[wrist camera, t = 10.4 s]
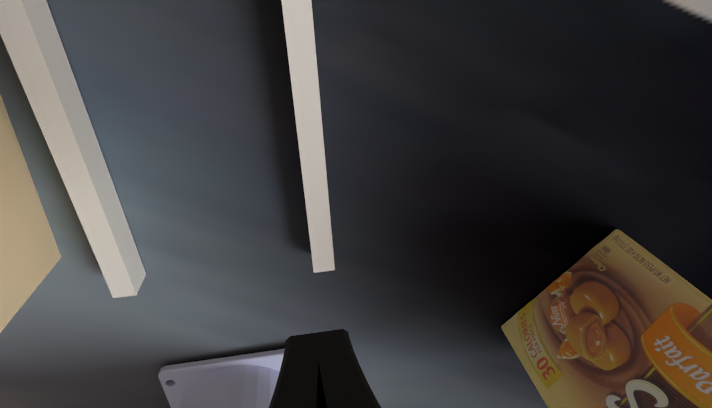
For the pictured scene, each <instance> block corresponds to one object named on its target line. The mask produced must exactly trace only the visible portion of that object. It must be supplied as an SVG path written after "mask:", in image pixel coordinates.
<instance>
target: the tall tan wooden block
mask: <svg viewBox="0 0 712 408" xmlns="http://www.w3.org/2000/svg"><path fill="white" fill-rule="evenodd" d="M60 258H61V256H60V253H59V250H58V248H57V245H56V242H55V239H54V237H53V234H52V231H51V229H50V226H49V223H48V221H47V218H46V215H45V213H44V210H43V207H42V205H41V202H40V199H39V196H38V194H37V191H36V188H35V186H34V183H33V180H32V178H31V175H30V172H29V170H28V167H27V164H26V162H25V159H24V156H23V153H22V151H21V148H20V145H19V143H18V140H17V137H16V135H15V132H14V129H13V127H12V124H11V121H10V119H9V116H8V113H7V110H6V108H5V105H4V102H3V100H2V97H1V94H0V333H1V332H2V330H3V329H4V328H5V327H6V325H7V324H8V323H9V322H10V320H11V319H12V318H13V317H14V315H15V314H16V313H17V312H18V310H19V309H20V308H21V307H22V305H23V304H24V303H25V302H26V300H27V299H28V298H29V297H30V295H31V294H32V293H33V292H34V290H35V289H36V288H37V287H38V285H39V284H40V283H41V282H42V281H43V279H44V278H45V277H46V276H47V274H48V273H49V272H50V271H51V269H52V268H53V267H54V266H55V264H56V263H57V262H58V261H59V259H60Z"/></svg>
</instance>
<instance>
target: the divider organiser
mask: <svg viewBox="0 0 712 408" xmlns="http://www.w3.org/2000/svg"><path fill="white" fill-rule="evenodd" d="M281 1H282V10H283V18H284V27H285V35H286V44H287V52H288V60H289V69H290V77H291V86H292V94H293V102H294V111H295V119H296V128H297V136H298V145H299V153H300V161H301V170H302V178H303V187H304V195H305V203H306V212H307V220H308V229H309V237H310V246H311V254H312V262H313V271H314V273H317V272H324V271H332V270H335V266H334V254H333V243H332V232H331V220H330V209H329V197H328V186H327V175H326V163H325V152H324V140H323V129H322V118H321V106H320V95H319V83H318V72H317V60H316V49H315V38H314V26H313V15H312V3H311V0H281ZM0 35H1V37H2V39H3V42H4V44H5V46H6V49H7V51H8V53H9V56H10V58H11V60H12V63H13V65H14V67H15V70H16V72H17V74H18V77H19V79H20V81H21V84H22V86H23V88H24V91H25V93H26V95H27V98H28V100H29V102H30V105H31V107H32V109H33V112H34V114H35V116H36V119H37V121H38V124H39V126H40V128H41V131H42V133H43V135H44V138H45V140H46V142H47V145H48V147H49V149H50V152H51V154H52V156H53V159H54V161H55V163H56V166H57V168H58V170H59V173H60V175H61V177H62V180H63V182H64V184H65V187H66V189H67V191H68V194H69V196H70V198H71V201H72V203H73V205H74V208H75V210H76V212H77V215H78V217H79V219H80V222H81V224H82V226H83V229H84V231H85V233H86V236H87V238H88V240H89V243H90V245H91V247H92V250H93V252H94V254H95V257H96V259H97V261H98V264H99V266H100V268H101V271H102V273H103V276H104V278H105V280H106V283H107V285H108V287H109V290H110V292H111V294H112V297H113V298H118V297H126V296H134V295H137V293H138V291H139V289H140V286H141V284H142V282H143V280H144V278H145V276H146V273H145V270H144V267H143V264H142V262H141V259H140V256H139V253H138V251H137V248H136V245H135V243H134V240H133V237H132V234H131V232H130V229H129V226H128V223H127V221H126V218H125V215H124V212H123V210H122V207H121V204H120V201H119V199H118V196H117V193H116V190H115V188H114V185H113V182H112V179H111V177H110V174H109V171H108V168H107V166H106V163H105V160H104V157H103V155H102V152H101V149H100V146H99V144H98V141H97V138H96V136H95V133H94V130H93V127H92V125H91V122H90V119H89V116H88V114H87V111H86V108H85V105H84V103H83V100H82V97H81V94H80V92H79V89H78V86H77V83H76V81H75V78H74V75H73V72H72V70H71V67H70V64H69V61H68V59H67V56H66V53H65V50H64V48H63V45H62V42H61V40H60V37H59V34H58V31H57V29H56V26H55V23H54V20H53V18H52V15H51V12H50V9H49V7H48V4H47V1H46V0H0Z"/></svg>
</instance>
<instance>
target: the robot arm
mask: <svg viewBox="0 0 712 408" xmlns="http://www.w3.org/2000/svg"><path fill="white" fill-rule="evenodd" d="M158 377H159V380H160V383H161V385H162V387H163V390H164V392H165V395H166V397H167V400H168V402H169V405H170V407H171V408H381V407H380V405H379V403H378V401H377V400H376V398H375V396H374V394H373V392H372V390H371V388H370V386H369V384H368V382H367V380H366V378H365V376H364V374H363V372H362V369H361V367H360V365H359V363H358V360H357V358H356V356H355V353H354V350H353V348H352V345H351V342H350V339H349V335H348V332H347V331H345V330H344V329H340V330H333V331H325V332H318V333H311V334H304V335H296V336H290V337H289V338H288V339H287V340H286V344H285V349H279V350H272V351H265V352H258V353H251V354H244V355H237V356H230V357H223V358H216V359H209V360H202V361H196V362H189V363H182V364H175V365H168V366H164V367H162V368H161V369H160V372H159V375H158Z"/></svg>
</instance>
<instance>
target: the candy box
mask: <svg viewBox="0 0 712 408" xmlns="http://www.w3.org/2000/svg"><path fill="white" fill-rule="evenodd" d="M501 328H502V330H503V332H504V334H505V336H506V337H507V339H508V341H509V342H510V344H511V346H512V347H513V349H514V351H515V352H516V354H517V356H518V357H519V359H520V361H521V363H522V364H523V366H524V368H525V369H526V371H527V373H528V374H529V376H530V378H531V380H532V381H533V383H534V385H535V386H536V388H537V390H538V391H539V393H540V395H541V396H542V398H543V400H544V401H545V403H546V405H547V406H548V408H712V300H711V299H710V298H708V297H707V296H706V295H704V294H703V293H702V292H700V291H699V290H698V289H697V288H695V287H694V286H693V285H691V284H690V283H689V282H687V281H686V280H685V279H683V278H682V277H681V276H680V275H678V274H677V273H676V272H674V271H673V270H672V269H670V268H669V267H668V266H667V265H665V264H664V263H663V262H661V261H660V260H659V259H657V258H656V257H655V256H653V255H652V254H651V253H649V252H648V251H647V250H646V249H644V248H643V247H642V246H640V245H639V244H638V243H636V242H635V241H634V240H632V239H631V238H630V237H628V236H627V235H626V234H624V233H623V232H622V231H620V230H618V229H615V230H614V231H613V232H612V233H611V234H610V235H608V236H607V237H606V238H605V239H603V240H602V241H601V242H600V243H598V244H597V245H596V246H595V247H593V248H592V249H591V250H590V251H589V252H588V253H587V254H585V255H584V256H583V257H582V258H581V259H580V260H579V261H578V262H577V263H576V264H574V265H573V266H572V267H571V268H570V269H569V270H567V271H566V272H565V273H563V274H562V275H561V276H560V277H558V278H557V279H556V280H555V281H554V282H553V283H551V284H550V285H549V286H548V287H547V288H546V289H545V290H543V291H542V292H541V293H540V294H539V295H538V296H536V297H535V298H534V299H533V300H532V301H530V302H529V303H528V304H527V305H525V306H524V307H523V308H522V309H521V310H519V311H518V312H517V313H516V314H515V315H514V316H513V317H511V318H510V319H509V320H508V321H507V322H505V323H504V324H503V325H502V326H501Z"/></svg>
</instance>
